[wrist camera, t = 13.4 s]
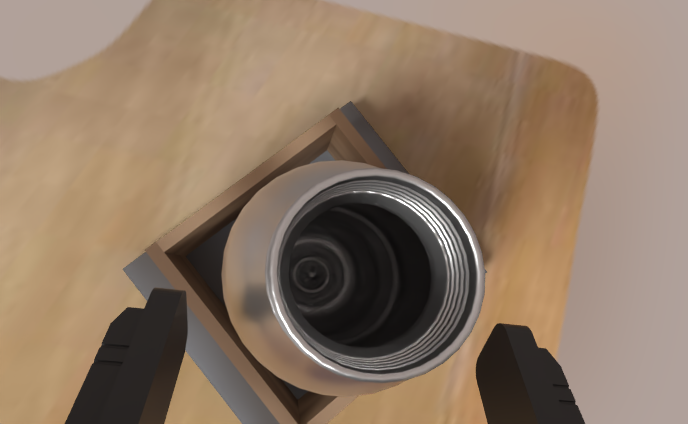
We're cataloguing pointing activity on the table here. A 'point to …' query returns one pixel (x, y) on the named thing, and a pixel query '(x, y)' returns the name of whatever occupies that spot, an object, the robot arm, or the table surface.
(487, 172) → the table surface
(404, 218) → the metal bottle
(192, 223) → the bottle holder
